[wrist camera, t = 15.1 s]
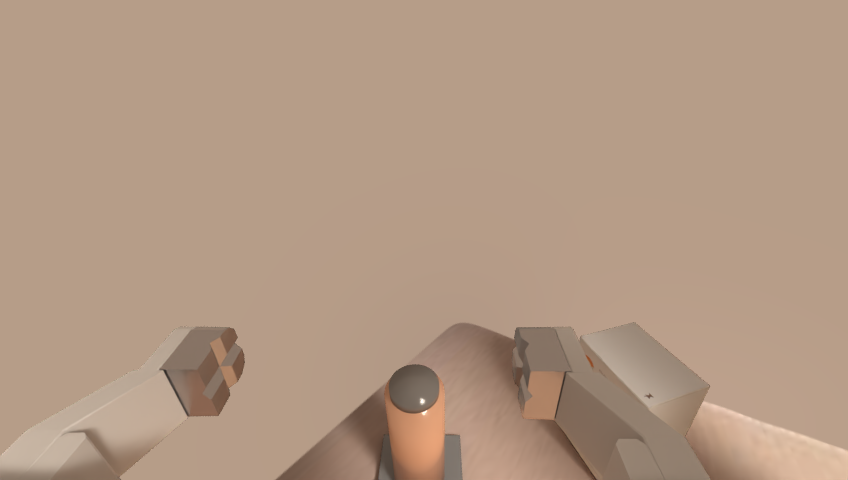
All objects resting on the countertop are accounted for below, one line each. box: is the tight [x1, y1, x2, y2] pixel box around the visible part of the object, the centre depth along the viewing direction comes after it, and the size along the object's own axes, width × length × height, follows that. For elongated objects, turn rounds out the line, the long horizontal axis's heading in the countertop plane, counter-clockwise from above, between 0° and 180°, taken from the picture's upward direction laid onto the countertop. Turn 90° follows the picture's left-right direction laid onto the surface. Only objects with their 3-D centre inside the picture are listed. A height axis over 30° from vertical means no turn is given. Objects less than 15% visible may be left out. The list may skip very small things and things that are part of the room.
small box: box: [564, 322, 710, 480], centre depth 35 cm, size 8×6×13 cm
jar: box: [384, 364, 445, 480], centre depth 33 cm, size 5×5×13 cm
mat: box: [378, 435, 462, 480], centre depth 36 cm, size 8×8×1 cm
